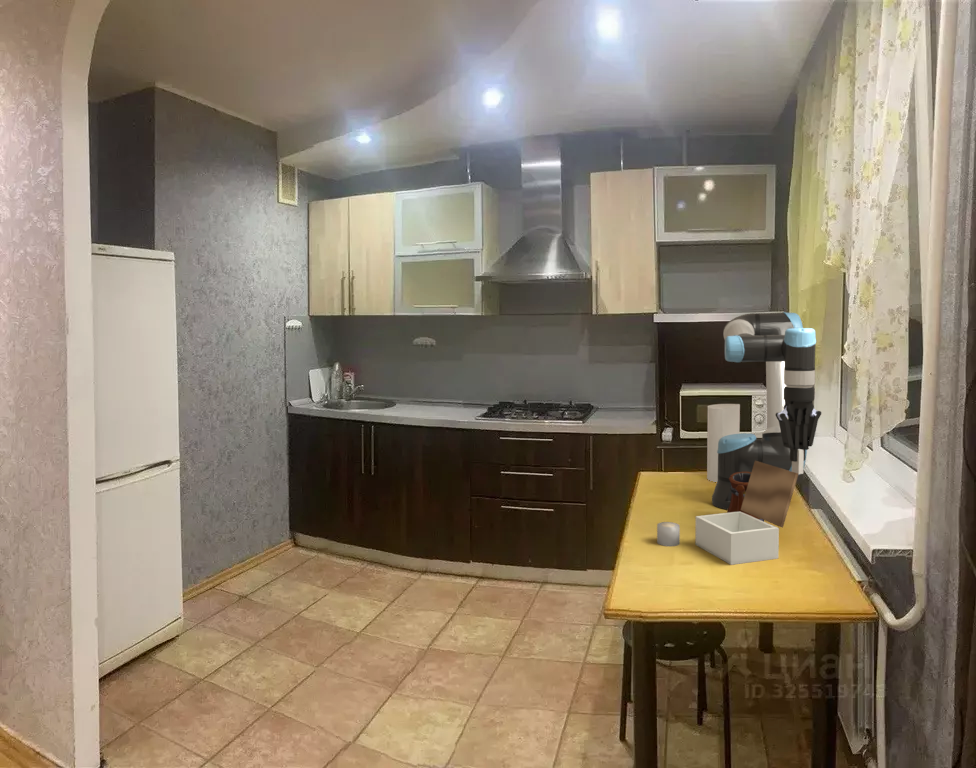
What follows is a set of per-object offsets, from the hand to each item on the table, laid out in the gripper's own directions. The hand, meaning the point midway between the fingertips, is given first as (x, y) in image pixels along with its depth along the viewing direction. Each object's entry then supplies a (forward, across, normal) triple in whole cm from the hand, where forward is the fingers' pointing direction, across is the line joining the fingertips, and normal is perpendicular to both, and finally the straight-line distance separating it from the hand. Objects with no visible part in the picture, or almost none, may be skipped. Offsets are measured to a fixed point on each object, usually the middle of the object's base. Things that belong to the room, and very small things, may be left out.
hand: (797, 472), depth 182 cm
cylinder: (+20, -27, -68) cm, 76 cm away
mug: (+20, +4, -18) cm, 27 cm away
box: (+20, +19, 0) cm, 27 cm away
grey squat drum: (+20, +32, -12) cm, 39 cm away
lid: (+5, +9, 0) cm, 10 cm away
